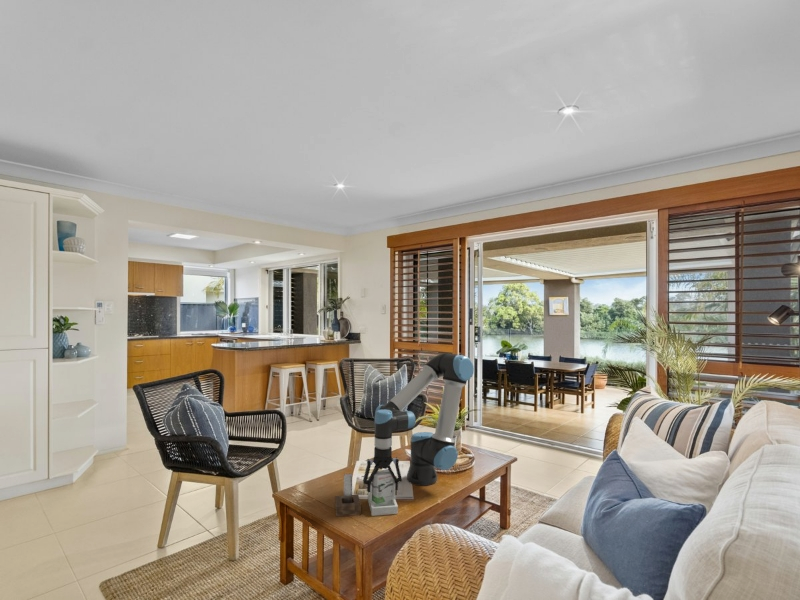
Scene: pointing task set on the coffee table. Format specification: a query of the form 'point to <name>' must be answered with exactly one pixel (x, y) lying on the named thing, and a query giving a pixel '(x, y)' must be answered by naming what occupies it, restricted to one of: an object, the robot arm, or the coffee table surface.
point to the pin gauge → (348, 488)
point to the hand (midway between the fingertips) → (382, 498)
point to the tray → (383, 507)
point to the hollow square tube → (347, 506)
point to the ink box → (382, 487)
